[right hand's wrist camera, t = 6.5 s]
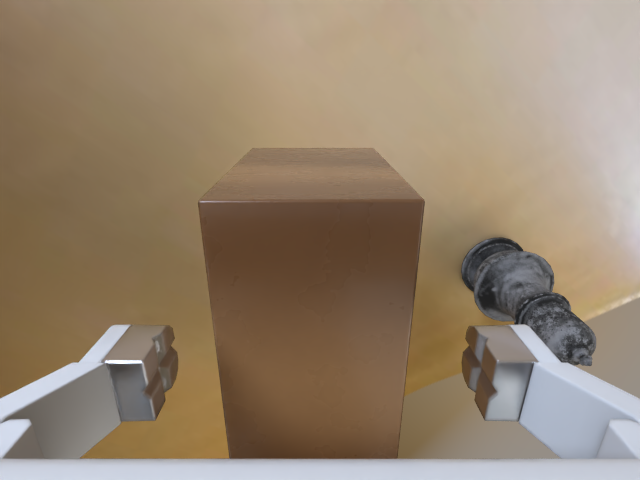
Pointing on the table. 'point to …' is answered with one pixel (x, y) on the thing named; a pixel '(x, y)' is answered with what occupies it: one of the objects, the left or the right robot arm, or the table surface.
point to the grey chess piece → (526, 297)
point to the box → (312, 301)
